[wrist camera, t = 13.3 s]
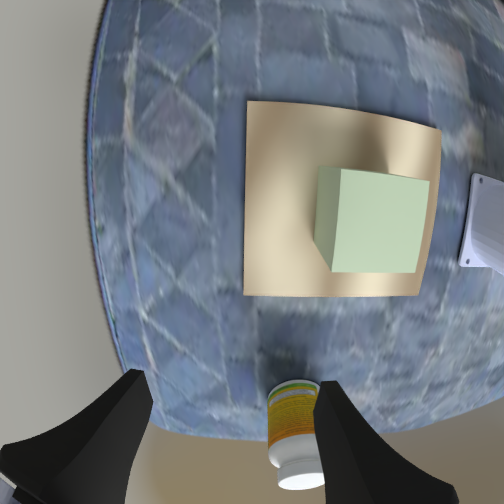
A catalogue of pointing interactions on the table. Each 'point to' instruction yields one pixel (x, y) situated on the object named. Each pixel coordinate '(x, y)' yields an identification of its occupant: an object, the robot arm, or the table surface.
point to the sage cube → (369, 220)
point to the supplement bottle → (294, 435)
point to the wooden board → (305, 193)
